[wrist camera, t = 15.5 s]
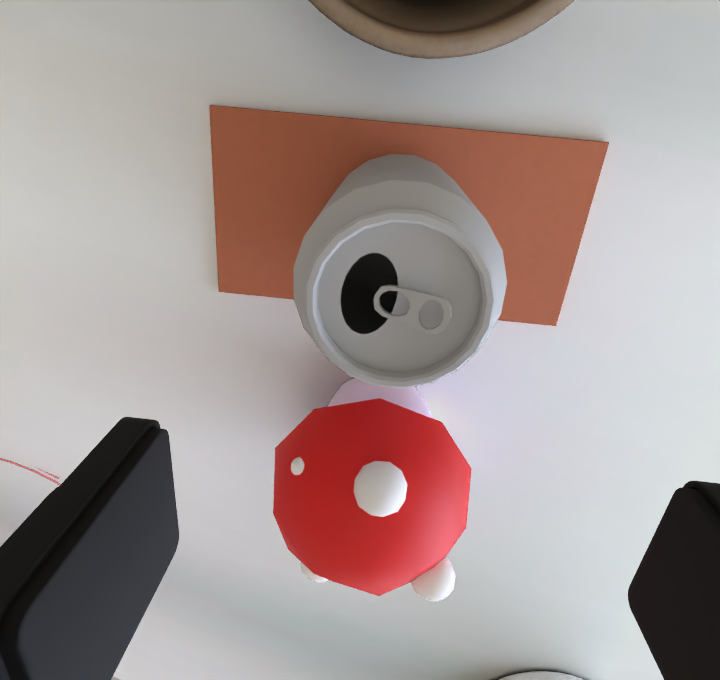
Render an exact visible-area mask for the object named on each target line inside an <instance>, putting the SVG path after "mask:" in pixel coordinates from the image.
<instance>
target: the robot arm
mask: <svg viewBox="0 0 720 680" xmlns="http://www.w3.org/2000/svg"><path fill="white" fill-rule="evenodd" d="M178 540H179V529H178V519H177V510H176V500H175V491H174V481H173V472H172V462H171V453H170V443H169V435H168V432H167V430H165V429H160V425H159V423H158V421H156V420H150V419H141V418H132V417H124V418H122V419H121V420H120V421H119V422H118V423H117V424H116V425H115V426H114V427H113V428H112V429H111V430H110V431H109V433H108V434H107V435H106V436H105V437H104V438H103V439H102V440H101V441H100V442H99V444H98V445H97V446H96V447H95V448H94V449H93V450H92V451H91V452H90V453H89V455H88V456H87V457H86V458H85V459H84V460H83V461H82V462H81V463H80V464H79V465H78V467H77V468H76V469H75V470H74V471H73V472H72V473H71V474H70V475H69V476H68V478H67V479H66V480H65V481H64V482H63V483H62V484H61V485H60V486H59V487H57V488H56V489H55V490H54V491H52V492H51V493H50V494H49V495H48V496H47V497H46V498H45V499H44V500H43V501H42V503H41V504H40V505H39V506H38V507H37V508H36V509H35V510H34V511H33V512H32V513H31V515H30V516H29V517H28V518H27V519H26V520H25V521H24V522H23V523H22V524H21V525H20V526H19V528H18V529H17V530H16V531H15V532H14V533H13V534H12V535H11V536H10V537H9V538H8V539H7V541H6V542H5V543H4V544H3V545H2V546H1V547H0V680H111V678H112V676H113V674H114V672H115V670H116V668H117V666H118V665H119V663H120V661H121V659H122V657H123V655H124V653H125V651H126V649H127V647H128V645H129V643H130V641H131V639H132V637H133V635H134V633H135V631H136V629H137V627H138V625H139V623H140V621H141V619H142V617H143V615H144V613H145V611H146V609H147V607H148V605H149V603H150V601H151V600H152V598H153V596H154V594H155V592H156V590H157V588H158V586H159V584H160V582H161V580H162V578H163V576H164V574H165V572H166V570H167V568H168V566H169V564H170V562H171V560H172V558H173V556H174V554H175V552H176V549H177V545H178ZM628 601H629V605H630V608H631V611H632V613H633V615H634V617H635V619H636V621H637V623H638V625H639V627H640V630H641V632H642V634H643V636H644V638H645V640H646V642H647V644H648V646H649V648H650V651H651V653H652V655H653V657H654V659H655V661H656V663H657V665H658V667H659V669H660V672H661V674H662V676H663V678H664V680H720V484H718V483H709V482H700V481H689V482H688V483H686V484H685V485H684V487H683V488H679V489H677V490H676V491H675V493H674V494H673V496H672V498H671V501H670V503H669V505H668V507H667V509H666V511H665V513H664V515H663V517H662V519H661V521H660V524H659V526H658V528H657V530H656V532H655V534H654V536H653V538H652V540H651V542H650V545H649V547H648V549H647V551H646V553H645V555H644V557H643V559H642V561H641V563H640V566H639V568H638V570H637V572H636V574H635V576H634V578H633V580H632V582H631V584H630V587H629V590H628ZM499 680H584V679H581V678H578V677H576V676H573V675H569V674H564V673H559V672H549V671H533V672H524V673H518V674H514V675H510V676H506V677H503V678H501V679H499Z"/></svg>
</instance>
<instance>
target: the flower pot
mask: <svg viewBox="0 0 720 680" xmlns="http://www.w3.org/2000/svg"><path fill="white" fill-rule="evenodd" d="M309 1H310V2H311V3H312V4H313V5H314V6H315V7H316V8H317V9H318V10H319V11H320V12H321V13H323V14H324V15H325V16H326V17H327V18H328V19H330V20H331V21H332V22H334V23H335V24H336V25H338V26H339V27H340V28H342V29H343V30H344V31H346V32H348V33H349V34H351V35H353V36H355V37H356V38H358V39H360V40H362V41H364V42H366V43H368V44H370V45H373V46H375V47H377V48H380V49H382V50H385V51H388V52H391V53H395V54H399V55H404V56H409V57H415V58H427V59H434V58H450V57H460V56H467V55H472V54H477V53H481V52H484V51H488V50H491V49H494V48H497V47H499V46H502V45H504V44H507V43H509V42H512V41H514V40H516V39H518V38H520V37H522V36H524V35H526V34H528V33H529V32H531V31H533V30H535V29H536V28H538V27H539V26H541V25H543V24H544V23H546V22H547V21H549V20H550V19H552V18H553V17H554V16H556V15H557V14H559V13H560V12H561V11H562V10H564V9H565V8H566V7H567V6H568V5H570V4H571V3H572V2H573V1H574V0H309Z"/></svg>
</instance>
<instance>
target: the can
mask: <svg viewBox="0 0 720 680" xmlns="http://www.w3.org/2000/svg"><path fill="white" fill-rule="evenodd" d="M506 286H507V278H506V271H505V264H504V257H503V250H502V248H501V246H500V244H499V242H498V241H497V239H496V237H495V235H494V233H493V231H492V229H491V227H490V225H489V224H488V222H487V220H486V219H485V217H484V216H483V215H482V214H481V213H480V211H479V210H478V209H477V208H476V206H475V205H474V204H473V203H472V202H471V200H470V199H469V198H468V197H467V195H466V194H465V193H464V192H463V190H462V189H461V188H460V187H459V186H458V184H457V183H456V182H455V181H454V180H453V179H452V178H451V177H450V176H449V175H448V174H447V173H446V172H445V171H443V170H442V169H441V168H440V167H439V166H438V165H437V164H434V163H432V162H430V161H427V160H425V159H423V158H420V157H418V156H416V155H401V154H389V155H386V156H382V157H378V158H375V159H371V160H368V161H367V162H365V163H364V164H362V165H361V166H359V167H358V168H356V169H355V170H353V171H352V172H351V173H349V174H348V176H347V177H346V178H345V179H344V181H343V182H342V183H341V185H340V186H339V187H338V189H337V190H336V191H335V193H334V194H333V195H332V197H331V198H330V200H329V201H328V203H327V204H326V205H325V207H324V208H323V210H322V211H321V213H320V214H319V215H318V217H317V218H316V220H315V221H314V223H313V224H312V225H311V227H310V228H309V230H308V231H307V233H306V234H305V235H304V238H303V241H302V244H301V247H300V249H299V252H298V255H297V258H296V261H295V264H294V301H295V304H296V306H297V309H298V312H299V315H300V318H301V321H302V324H303V327H304V329H305V330H306V331H307V333H308V334H309V335H310V337H311V338H312V339H313V341H314V342H315V343H316V345H317V346H318V347H319V349H320V350H321V351H322V352H323V353H324V354H325V356H326V357H327V358H328V360H329V361H331V362H332V363H333V364H335V365H336V366H337V367H339V368H340V369H341V370H343V371H344V372H346V373H347V374H348V375H350V376H351V377H354V378H357V379H359V380H362V381H365V382H367V383H370V384H373V385H376V386H384V387H396V388H408V387H413V386H418V385H423V384H429V383H433V382H435V381H437V380H439V379H441V378H443V377H445V376H447V375H449V374H451V373H453V372H455V371H457V370H458V369H459V368H460V367H461V366H462V365H463V364H464V363H465V362H466V361H468V360H469V359H470V358H471V357H472V356H473V355H474V354H475V353H476V352H477V351H478V349H479V348H480V346H481V345H482V344H483V343H484V342H485V341H486V339H487V338H488V336H489V334H490V332H491V331H492V329H493V327H494V325H495V324H496V322H497V320H498V318H499V317H500V315H501V311H502V306H503V301H504V296H505V291H506Z"/></svg>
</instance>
